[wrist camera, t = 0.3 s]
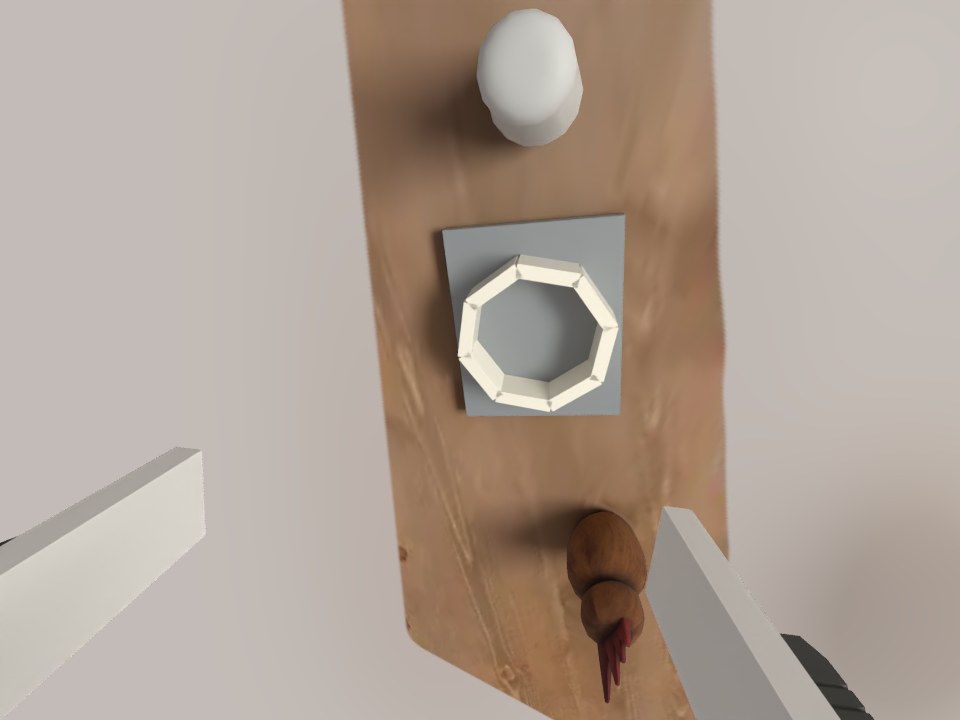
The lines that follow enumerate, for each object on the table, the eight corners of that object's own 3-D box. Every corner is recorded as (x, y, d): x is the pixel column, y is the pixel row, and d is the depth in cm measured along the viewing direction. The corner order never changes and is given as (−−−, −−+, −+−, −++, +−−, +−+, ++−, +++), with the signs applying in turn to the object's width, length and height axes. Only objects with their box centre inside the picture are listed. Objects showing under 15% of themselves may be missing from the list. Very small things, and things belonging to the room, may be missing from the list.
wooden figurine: (593, 558, 46) (608, 725, 33) (555, 524, 45) (555, 683, 32) (648, 528, 44) (690, 696, 30) (610, 491, 43) (635, 649, 29)
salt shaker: (543, 164, 32) (536, 174, 20) (476, 112, 31) (428, 91, 19) (599, 83, 29) (628, 40, 18) (527, 25, 29) (508, -60, 17)
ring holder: (555, 227, 32) (555, 234, 30) (636, 345, 35) (643, 361, 32) (439, 311, 36) (430, 324, 34) (520, 411, 39) (517, 431, 36)
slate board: (445, 228, 35) (442, 230, 33) (622, 213, 32) (625, 215, 31) (469, 409, 41) (466, 416, 40) (618, 407, 39) (619, 414, 38)
